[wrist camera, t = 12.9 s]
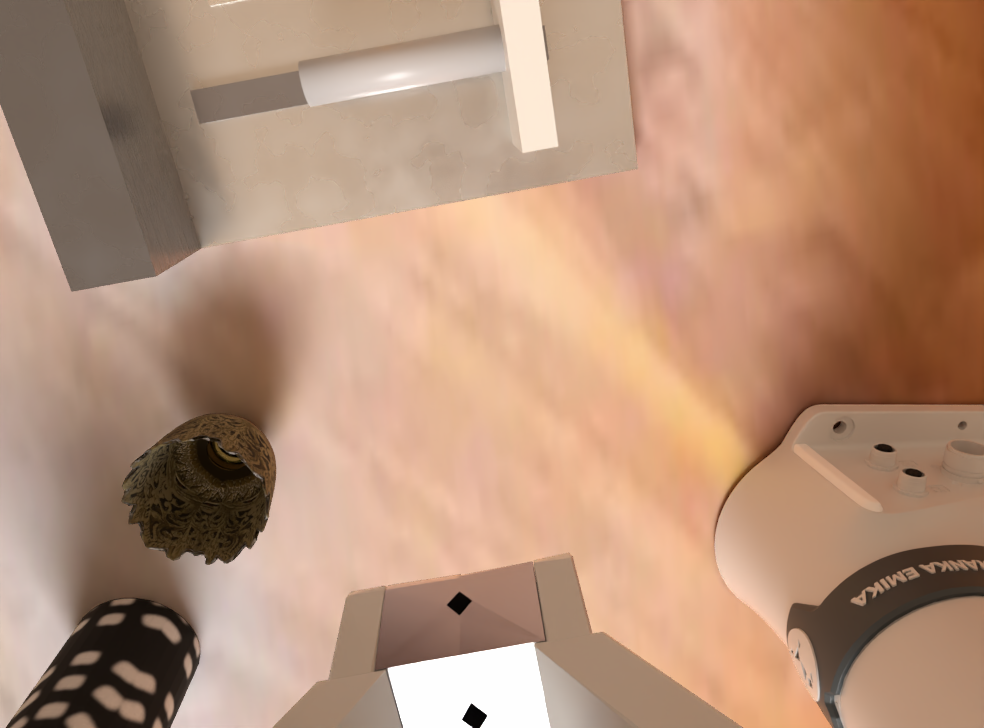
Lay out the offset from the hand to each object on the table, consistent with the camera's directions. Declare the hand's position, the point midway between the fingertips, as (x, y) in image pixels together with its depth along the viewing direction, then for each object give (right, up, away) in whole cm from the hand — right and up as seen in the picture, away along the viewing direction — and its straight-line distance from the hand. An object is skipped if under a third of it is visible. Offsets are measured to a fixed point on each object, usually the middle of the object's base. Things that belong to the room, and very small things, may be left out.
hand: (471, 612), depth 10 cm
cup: (-16, -1, +36) cm, 39 cm away
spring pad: (-3, +19, +27) cm, 33 cm away
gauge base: (-7, +18, +29) cm, 35 cm away
